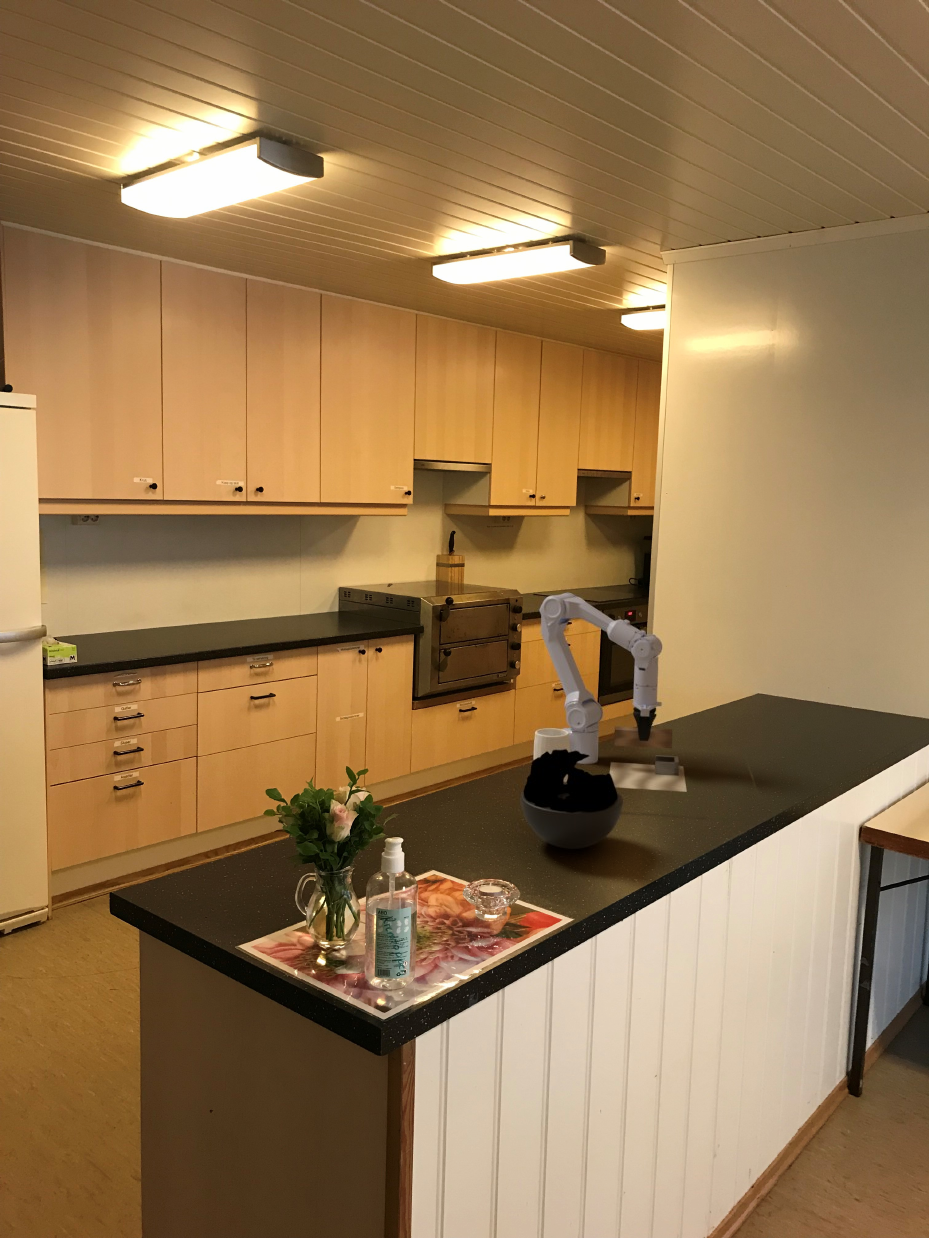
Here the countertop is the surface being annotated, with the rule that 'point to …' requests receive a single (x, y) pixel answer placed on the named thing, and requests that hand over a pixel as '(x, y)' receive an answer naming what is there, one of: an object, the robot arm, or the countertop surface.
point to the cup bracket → (666, 765)
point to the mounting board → (645, 777)
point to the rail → (631, 738)
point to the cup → (551, 742)
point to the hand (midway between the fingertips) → (643, 738)
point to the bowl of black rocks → (569, 801)
